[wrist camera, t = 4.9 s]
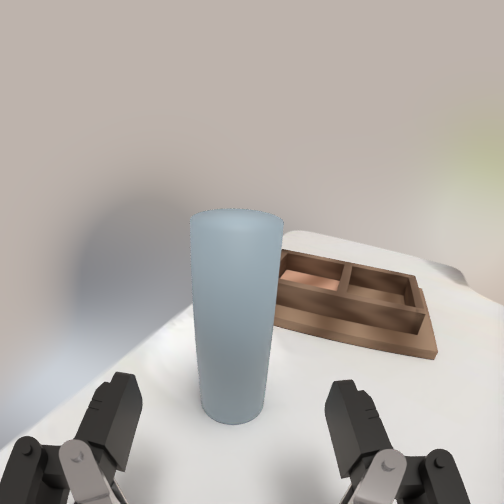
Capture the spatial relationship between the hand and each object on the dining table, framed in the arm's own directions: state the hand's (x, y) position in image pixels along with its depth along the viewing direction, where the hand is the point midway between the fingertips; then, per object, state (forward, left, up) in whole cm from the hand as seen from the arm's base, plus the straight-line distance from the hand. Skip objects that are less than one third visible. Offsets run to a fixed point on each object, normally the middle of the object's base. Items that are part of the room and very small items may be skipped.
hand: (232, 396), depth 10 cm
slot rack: (-16, -15, -7) cm, 24 cm away
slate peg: (-1, -5, -7) cm, 9 cm away
